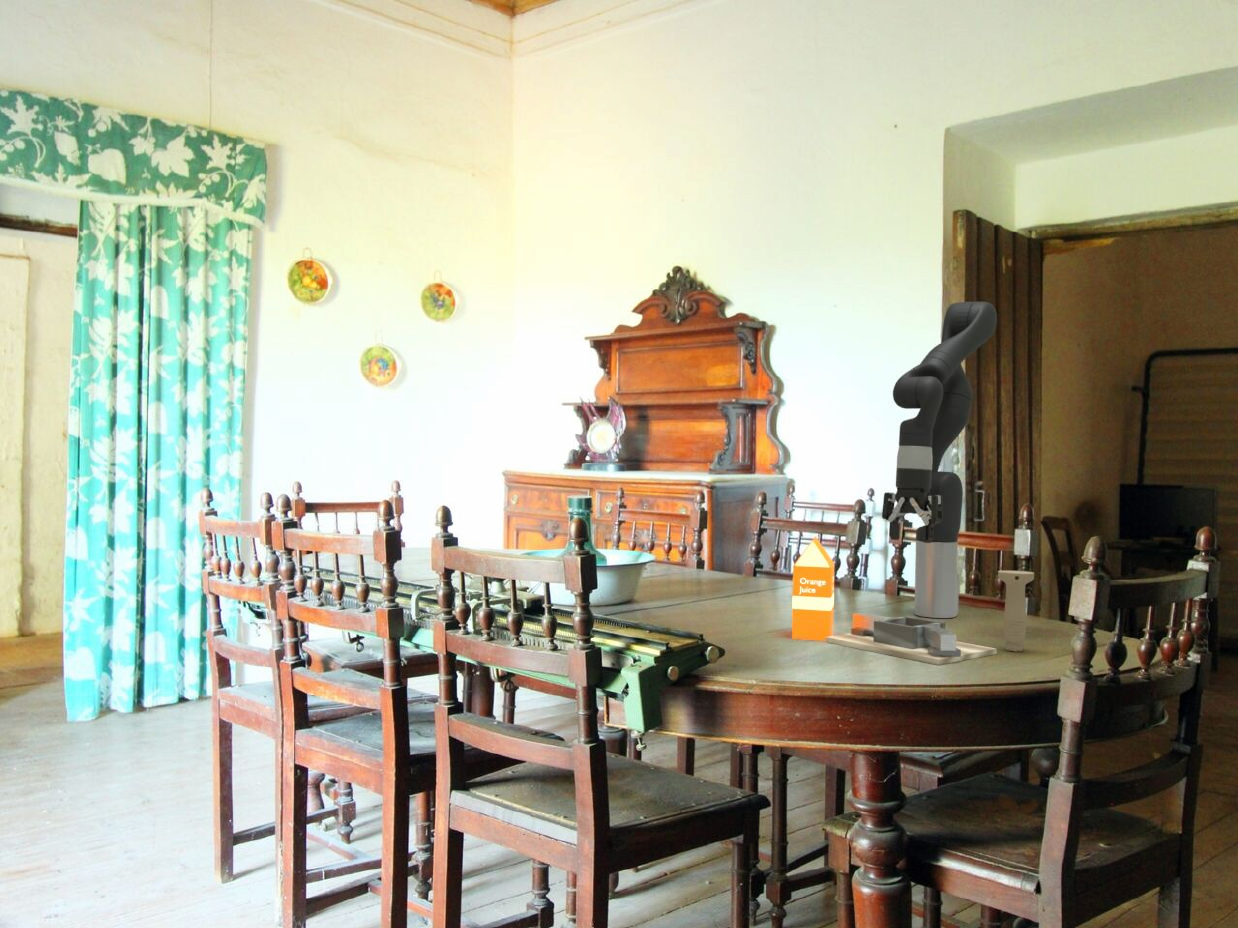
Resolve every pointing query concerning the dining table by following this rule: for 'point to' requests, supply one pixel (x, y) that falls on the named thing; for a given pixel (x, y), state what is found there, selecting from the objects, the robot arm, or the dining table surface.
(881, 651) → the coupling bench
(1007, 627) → the handle
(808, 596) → the orange juice
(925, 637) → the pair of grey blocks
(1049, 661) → the dining table surface
